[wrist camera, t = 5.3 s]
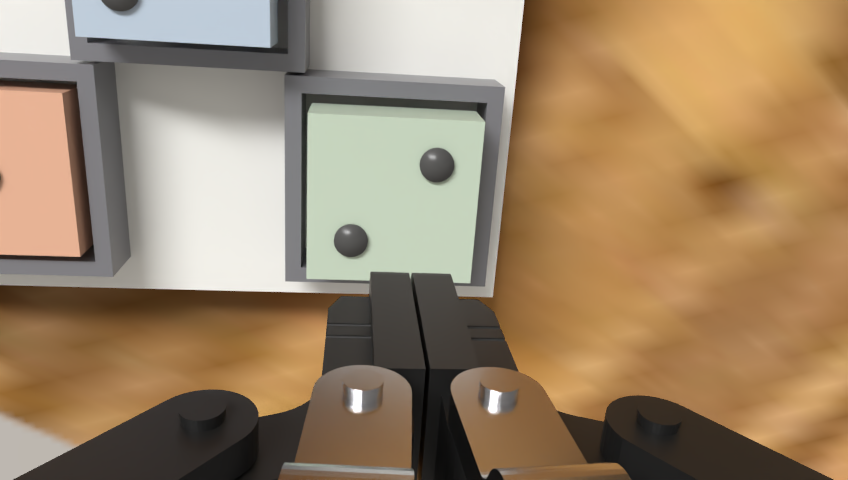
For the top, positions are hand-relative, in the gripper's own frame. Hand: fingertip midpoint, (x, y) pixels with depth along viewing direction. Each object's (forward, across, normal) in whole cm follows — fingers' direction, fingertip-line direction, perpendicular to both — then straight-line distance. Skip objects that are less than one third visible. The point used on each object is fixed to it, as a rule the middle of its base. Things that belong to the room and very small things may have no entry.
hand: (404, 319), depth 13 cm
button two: (+10, 0, 0) cm, 10 cm away
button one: (+11, +12, 0) cm, 16 cm away
